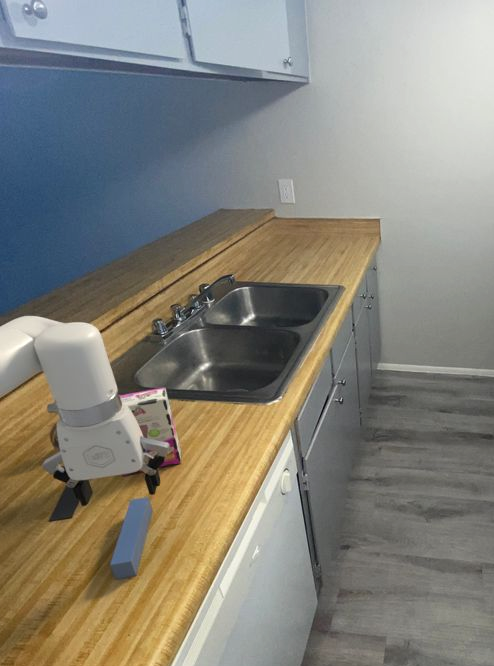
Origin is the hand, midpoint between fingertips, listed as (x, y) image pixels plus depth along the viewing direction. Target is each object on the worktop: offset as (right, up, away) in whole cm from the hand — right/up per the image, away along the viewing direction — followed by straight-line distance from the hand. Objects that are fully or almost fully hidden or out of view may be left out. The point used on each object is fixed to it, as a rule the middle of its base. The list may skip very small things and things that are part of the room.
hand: (121, 494), depth 76 cm
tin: (-22, +3, +28) cm, 36 cm away
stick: (-1, -10, +5) cm, 11 cm away
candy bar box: (-7, -1, +23) cm, 24 cm away
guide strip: (-18, -4, +15) cm, 24 cm away
